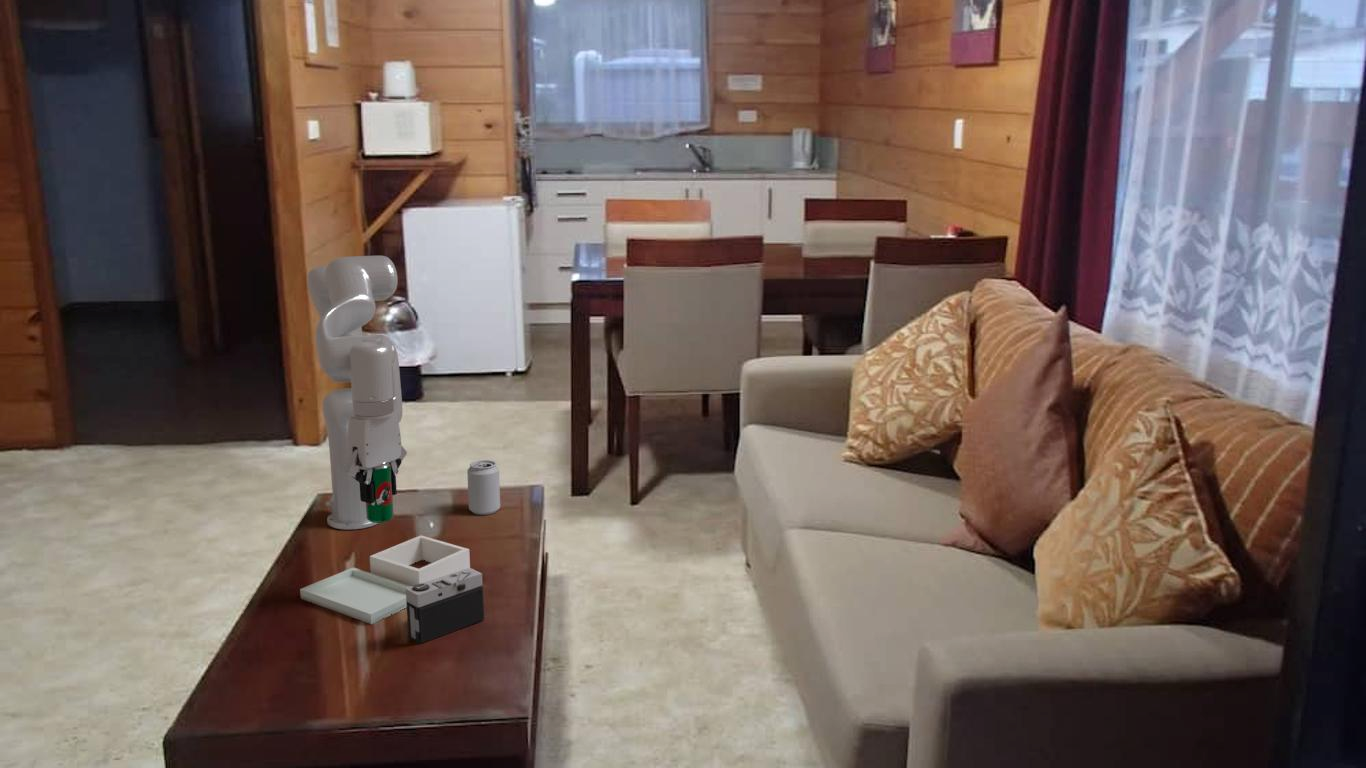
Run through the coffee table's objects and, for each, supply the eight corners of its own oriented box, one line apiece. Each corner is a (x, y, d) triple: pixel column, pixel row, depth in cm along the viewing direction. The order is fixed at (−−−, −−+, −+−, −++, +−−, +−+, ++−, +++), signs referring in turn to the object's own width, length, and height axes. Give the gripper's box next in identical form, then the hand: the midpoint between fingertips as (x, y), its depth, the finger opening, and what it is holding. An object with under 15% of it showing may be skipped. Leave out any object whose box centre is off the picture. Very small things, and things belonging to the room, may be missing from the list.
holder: (371, 579, 218) (369, 556, 217) (422, 557, 230) (420, 535, 228) (420, 595, 211) (418, 571, 210) (470, 571, 222) (469, 549, 221)
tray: (300, 598, 209) (300, 589, 208) (353, 576, 219) (353, 567, 219) (371, 624, 198) (370, 614, 198) (423, 599, 209) (422, 590, 208)
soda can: (397, 515, 212) (394, 457, 209) (388, 524, 207) (385, 464, 204) (372, 514, 212) (368, 456, 209) (362, 523, 207) (359, 464, 204)
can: (497, 516, 254) (495, 468, 252) (465, 515, 255) (463, 467, 252) (503, 505, 262) (501, 458, 259) (472, 505, 262) (470, 458, 259)
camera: (460, 607, 206) (458, 558, 203) (485, 621, 200) (483, 571, 198) (395, 630, 196) (393, 579, 194) (420, 645, 190) (417, 593, 188)
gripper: (392, 395, 213) (397, 482, 217) (324, 414, 199) (330, 506, 203) (420, 400, 209) (424, 489, 214) (352, 419, 195) (358, 514, 199)
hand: (378, 496), depth 208 cm, fingers closed on soda can, 5 cm apart
